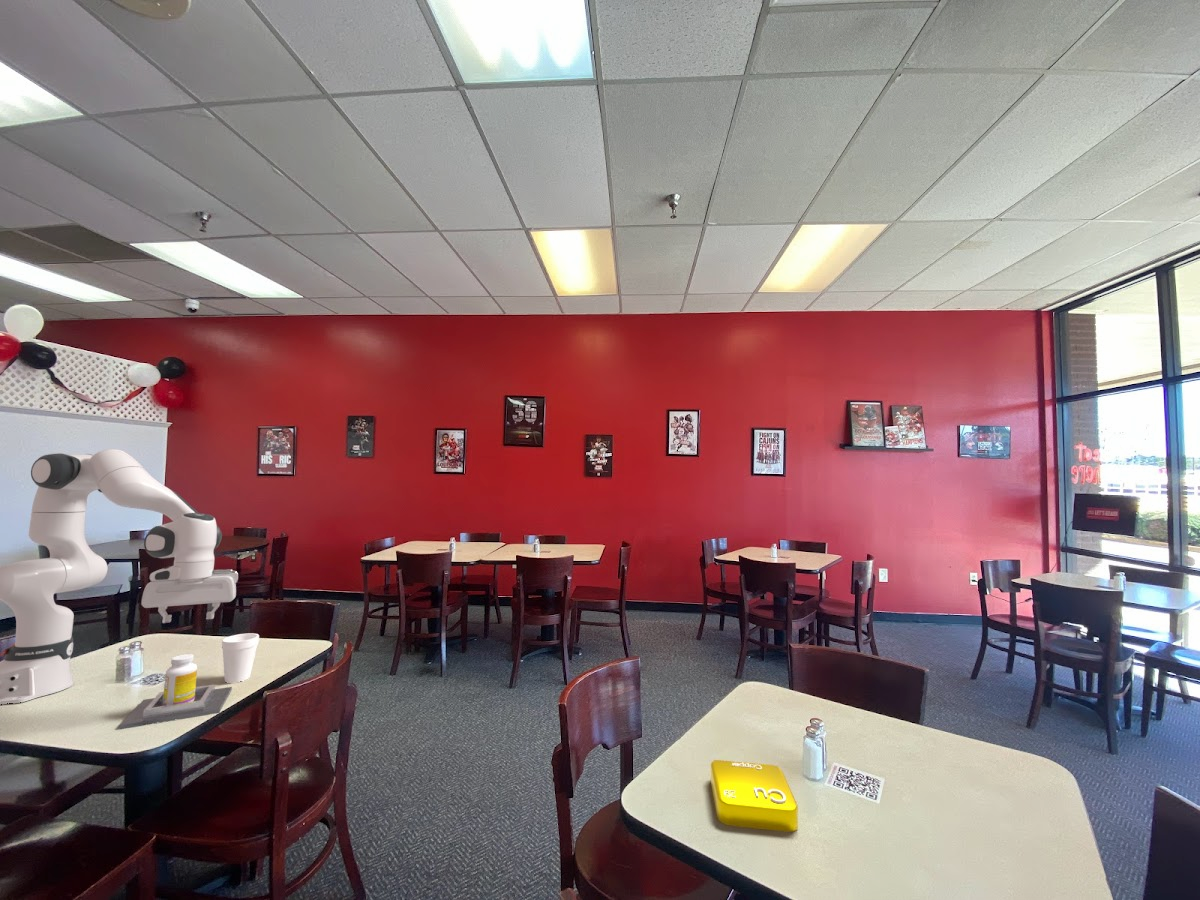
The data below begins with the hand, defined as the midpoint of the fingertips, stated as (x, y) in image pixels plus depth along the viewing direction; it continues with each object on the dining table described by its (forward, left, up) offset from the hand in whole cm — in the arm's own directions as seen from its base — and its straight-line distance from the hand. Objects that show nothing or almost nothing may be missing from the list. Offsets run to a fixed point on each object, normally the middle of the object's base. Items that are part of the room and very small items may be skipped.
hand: (188, 620), depth 132 cm
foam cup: (+10, +17, -24) cm, 31 cm away
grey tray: (0, 0, -24) cm, 24 cm away
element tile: (+113, -102, -24) cm, 154 cm away
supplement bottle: (0, 0, -23) cm, 23 cm away
